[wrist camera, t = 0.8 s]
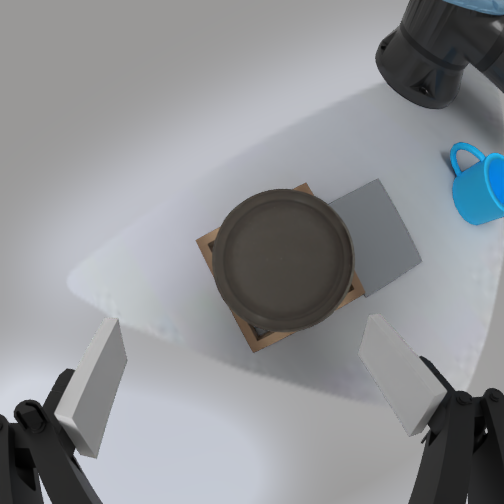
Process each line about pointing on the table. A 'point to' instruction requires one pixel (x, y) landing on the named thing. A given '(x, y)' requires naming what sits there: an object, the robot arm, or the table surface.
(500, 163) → the mug
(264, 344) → the crate
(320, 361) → the table surface
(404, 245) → the mat
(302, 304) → the coffee can
